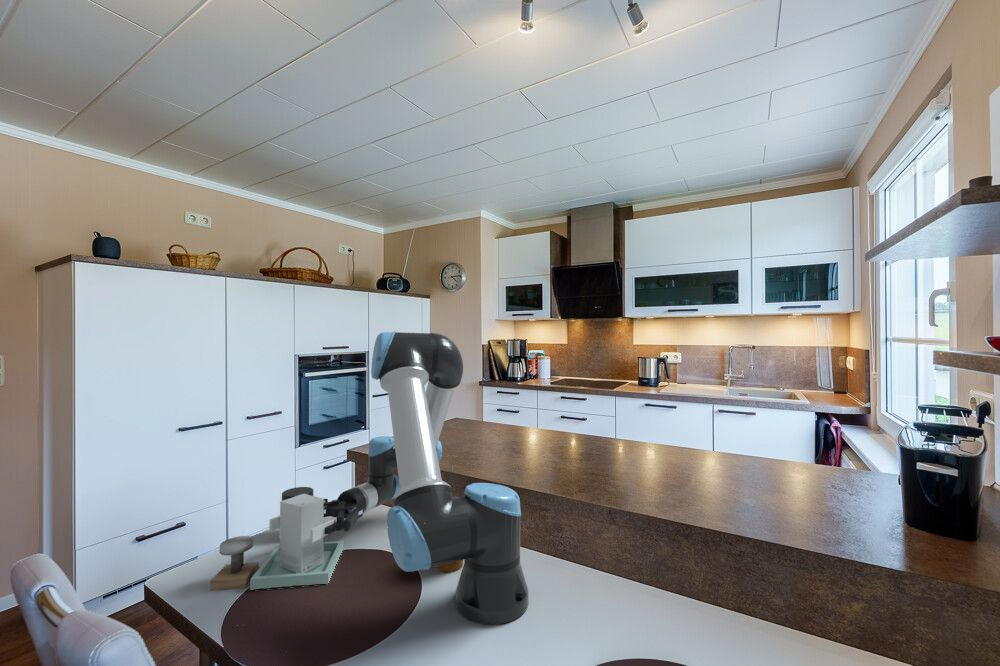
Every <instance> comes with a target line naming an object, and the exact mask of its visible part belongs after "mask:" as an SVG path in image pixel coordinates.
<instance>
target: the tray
mask: <svg viewBox="0 0 1000 666" xmlns="http://www.w3.org/2000/svg"><path fill="white" fill-rule="evenodd" d="M342 551H343V552H344V540H338V541H337V540H335V541H324V563H323V564H322V565H320V566H318V567H316V568H314V569H312V570H310V571H308V572H306V573H294V572H292V571H290V570H287V569H285V568H282V567H280V544H279V545H276V547H275V548H274V549H273V550H272V552H271V553H270V554H269V555H268V556H267V558H266V559H265V560H264V561H263V563H262V564H261V566H259V569H258V570H257V572H256V573H255V574H254V575H253V577H252V578H251V579H250V582H249V591H250V590H254V589H260V588H271V587H282V586H293V585H310V584H311V585H312V584H326V585H329V584H328V583H330V582H329V581H331V579H332V577H331V576H333V575H332V573H333V574H334V572H335V570H336V568H335V566H336V564H337V565H338V563H339V561H340V559H339V557H340V555H341V556H342V554H343V552H342ZM341 553H342V554H341ZM340 558H341V557H340ZM338 560H339V561H338ZM337 562H338V563H337ZM336 567H337V566H336ZM334 569H335V570H334ZM333 571H334V572H333ZM330 578H331V579H330Z"/></svg>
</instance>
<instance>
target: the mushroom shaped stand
mask: <svg viewBox="0 0 1000 666" xmlns="http://www.w3.org/2000/svg"><path fill="white" fill-rule="evenodd" d="M253 546H254V537H253V536H250V535H239V536H235V537H231V538H227V539H226V540H224V541H222V542H221V543H220V544H219V554H220V555H222V556H230V564H228V563H227V564H225V565H224V566H223V567H222V569H221V570H219V571H218V573H217V574H216V575H215V576H214V577H212V578H211V580H210V582H209V583H210V586H209V591H218V590H219V591H220V590H232V589H233V590H234V589H243V588H245V589H246V588H247V586H249V585H250V579H251V578H252V577H253V575H254V574H255V573H256V572H257V570H258V569H259V568H260V562H258V561H257V562H244V559H245V553H246V552H247V551H249V550H251V549H252V548H253Z"/></svg>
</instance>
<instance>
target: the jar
mask: <svg viewBox="0 0 1000 666" xmlns="http://www.w3.org/2000/svg"><path fill="white" fill-rule="evenodd" d="M301 494H307V495H311V496H315V495H314V488H312V487H310V486H299V487H298V486H297V487H292V488H289V489H286V490H284V491H282V493H281V501H284V500H287V499H290V498H292V497H295V496H298V495H301ZM278 539H279V540H280V530H279V537H278Z"/></svg>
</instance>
